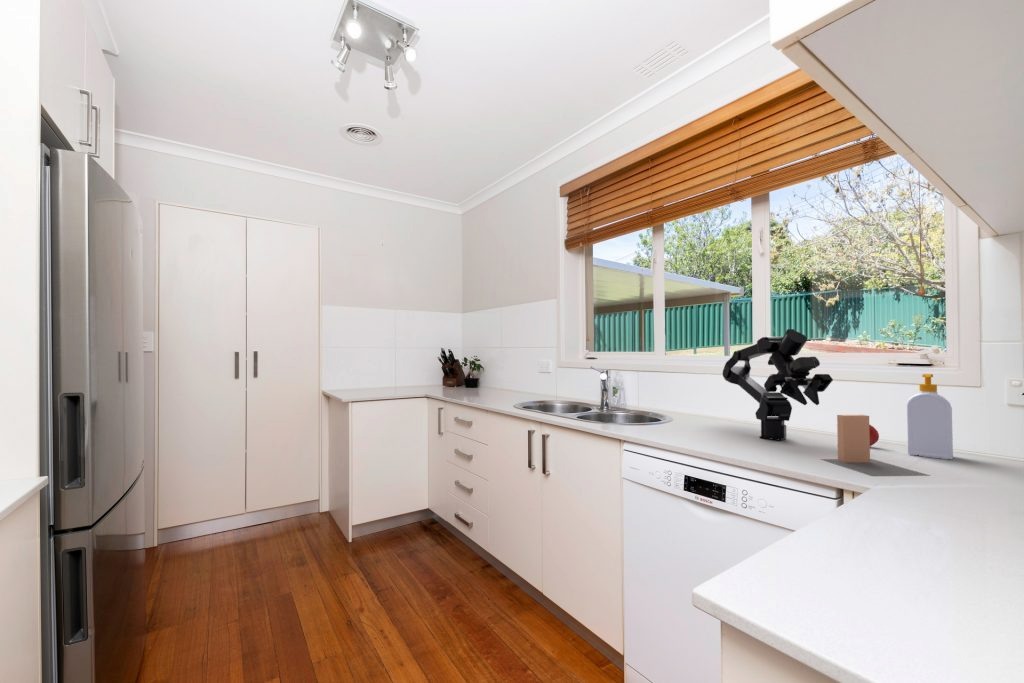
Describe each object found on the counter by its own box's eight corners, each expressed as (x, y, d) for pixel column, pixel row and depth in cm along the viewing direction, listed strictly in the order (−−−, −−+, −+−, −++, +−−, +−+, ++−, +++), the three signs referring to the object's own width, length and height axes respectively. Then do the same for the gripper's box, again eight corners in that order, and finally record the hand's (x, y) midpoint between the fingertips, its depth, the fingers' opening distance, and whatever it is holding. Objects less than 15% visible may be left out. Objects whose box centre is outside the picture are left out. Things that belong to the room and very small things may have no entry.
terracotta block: (837, 460, 115) (837, 414, 116) (863, 460, 116) (862, 414, 116) (844, 462, 113) (843, 415, 114) (870, 462, 114) (869, 415, 114)
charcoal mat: (820, 460, 117) (820, 459, 117) (870, 460, 118) (870, 458, 118) (872, 477, 101) (872, 475, 101) (930, 477, 102) (930, 475, 102)
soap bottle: (908, 455, 123) (906, 373, 124) (908, 451, 129) (906, 373, 129) (953, 460, 117) (951, 374, 118) (951, 456, 123) (949, 374, 123)
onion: (851, 446, 135) (850, 420, 135) (860, 444, 138) (860, 419, 138) (873, 450, 130) (873, 423, 130) (883, 448, 133) (882, 421, 133)
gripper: (769, 347, 135) (794, 386, 124) (827, 348, 136) (858, 386, 125) (754, 372, 143) (776, 410, 131) (809, 372, 144) (836, 410, 132)
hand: (812, 404), depth 130 cm, fingers open, 3 cm apart
